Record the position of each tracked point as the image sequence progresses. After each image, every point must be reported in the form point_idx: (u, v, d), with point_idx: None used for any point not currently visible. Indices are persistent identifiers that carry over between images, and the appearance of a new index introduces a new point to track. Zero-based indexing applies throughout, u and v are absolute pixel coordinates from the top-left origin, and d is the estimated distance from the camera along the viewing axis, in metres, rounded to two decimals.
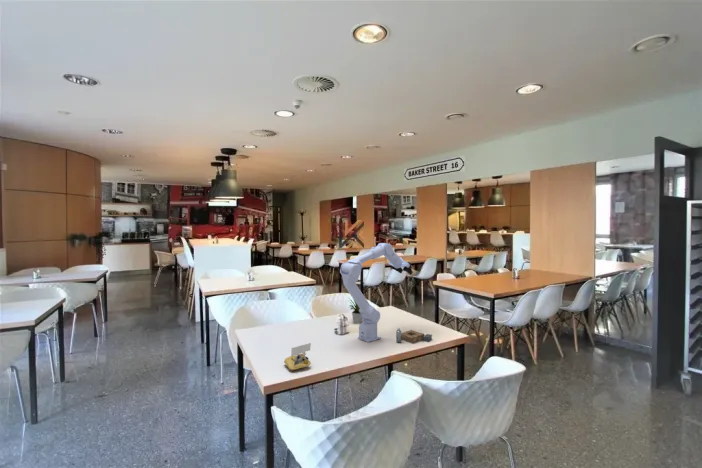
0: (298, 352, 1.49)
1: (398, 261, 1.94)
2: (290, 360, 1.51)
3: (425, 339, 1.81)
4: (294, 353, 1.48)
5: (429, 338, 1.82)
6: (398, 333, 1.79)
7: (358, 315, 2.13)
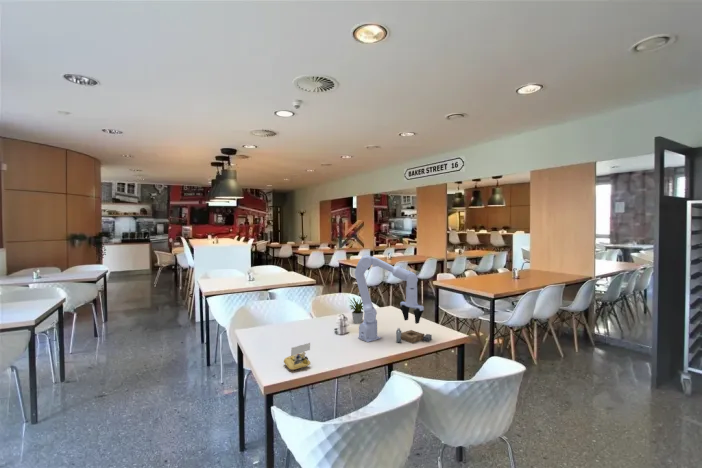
0: (298, 352, 1.49)
1: (414, 300, 1.81)
2: (290, 360, 1.51)
3: (425, 339, 1.81)
4: (294, 353, 1.48)
5: (429, 338, 1.82)
6: (398, 333, 1.79)
7: (358, 315, 2.13)
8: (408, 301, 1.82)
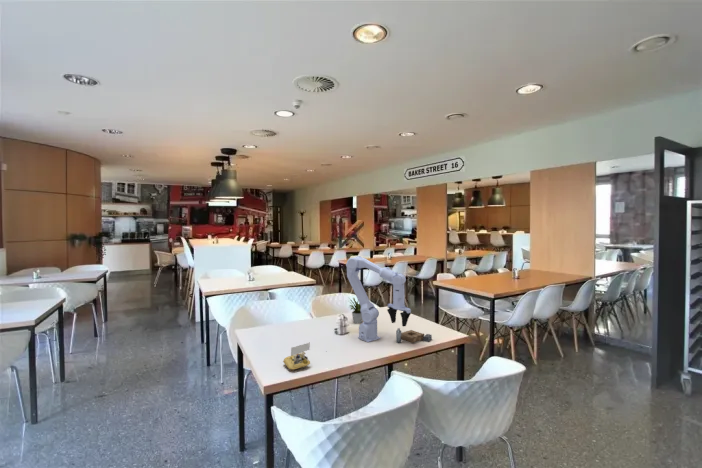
0: (297, 352, 1.49)
1: (402, 302, 1.77)
2: (289, 360, 1.51)
3: (425, 339, 1.81)
4: (294, 353, 1.48)
5: (429, 338, 1.82)
6: (398, 333, 1.79)
7: (358, 315, 2.13)
8: (395, 303, 1.77)
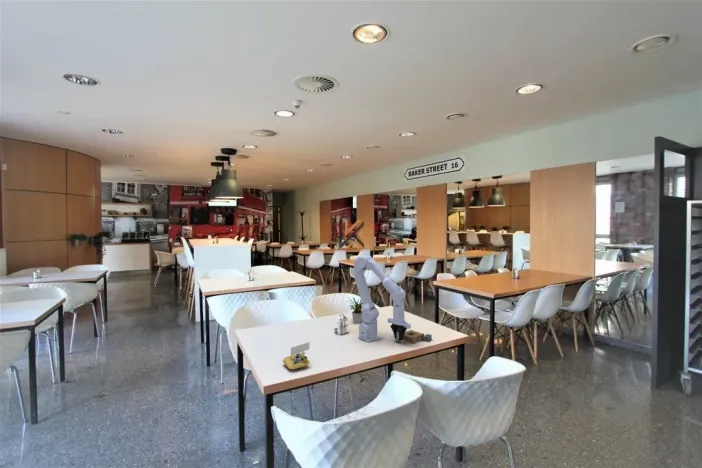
0: (297, 351, 1.50)
1: (402, 317, 1.77)
2: (289, 360, 1.51)
3: (425, 339, 1.81)
4: (293, 353, 1.48)
5: (429, 338, 1.82)
6: (398, 333, 1.79)
7: (358, 315, 2.13)
8: (395, 318, 1.78)
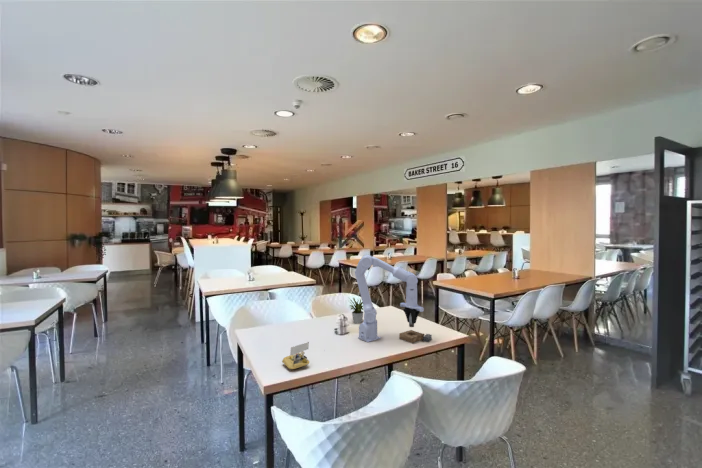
0: (297, 351, 1.50)
1: (414, 301, 1.81)
2: (288, 360, 1.51)
3: (425, 339, 1.81)
4: (293, 352, 1.49)
5: (429, 338, 1.82)
6: (411, 317, 1.83)
7: (358, 315, 2.13)
8: (408, 302, 1.82)
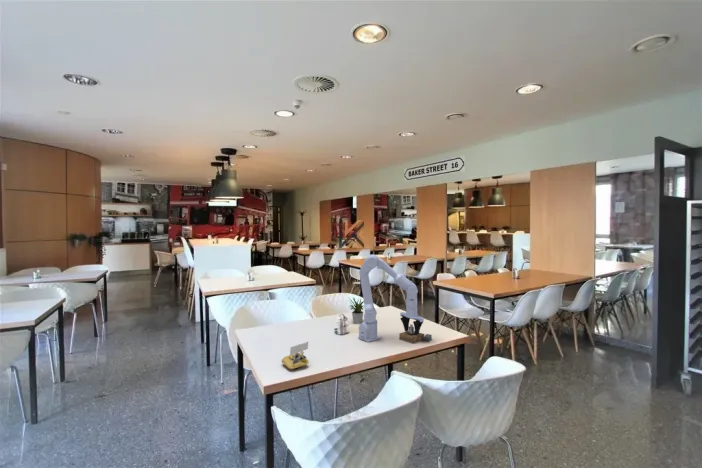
0: (296, 351, 1.50)
1: (414, 311, 1.81)
2: (288, 359, 1.51)
3: (425, 339, 1.81)
4: (293, 352, 1.49)
5: (429, 338, 1.82)
6: (411, 329, 1.83)
7: (358, 315, 2.13)
8: (408, 312, 1.82)
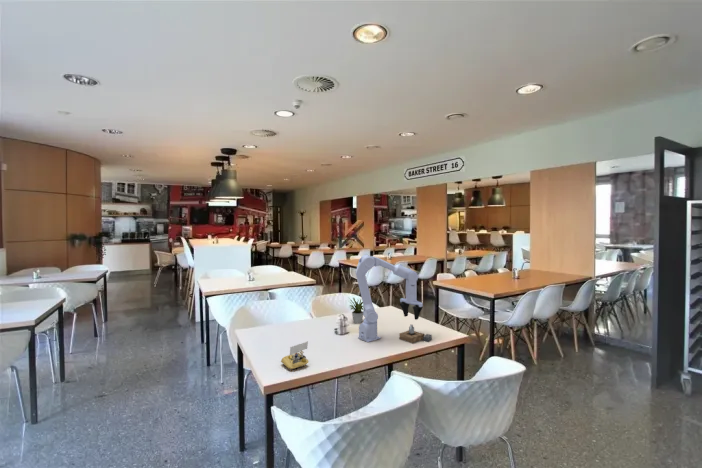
0: (296, 351, 1.50)
1: (414, 296, 1.87)
2: (288, 359, 1.52)
3: (425, 339, 1.81)
4: (292, 352, 1.49)
5: (429, 338, 1.82)
6: (411, 329, 1.83)
7: (358, 315, 2.13)
8: (408, 298, 1.87)
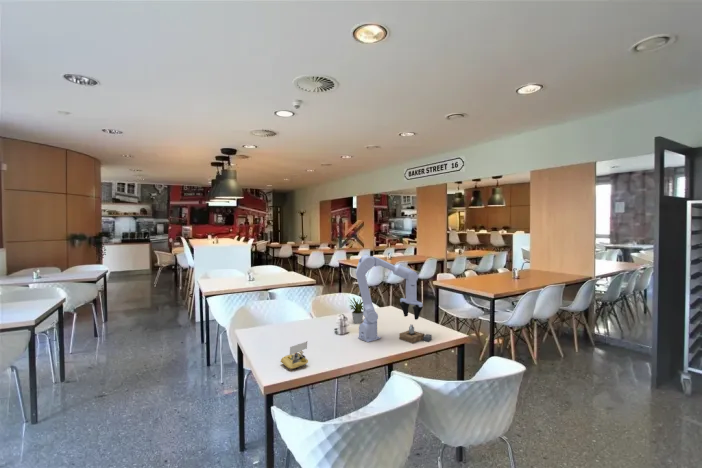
0: (296, 351, 1.51)
1: (414, 296, 1.87)
2: (287, 359, 1.52)
3: (425, 339, 1.81)
4: (292, 352, 1.49)
5: (429, 338, 1.82)
6: (411, 329, 1.83)
7: (358, 315, 2.13)
8: (408, 298, 1.87)
